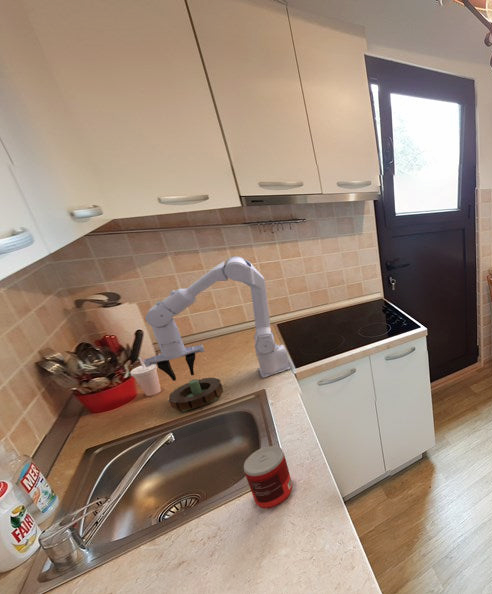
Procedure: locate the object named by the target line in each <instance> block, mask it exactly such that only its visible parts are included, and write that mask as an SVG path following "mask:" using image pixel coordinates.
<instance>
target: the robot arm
mask: <svg viewBox="0 0 492 594" xmlns="http://www.w3.org/2000/svg"><path fill="white" fill-rule="evenodd" d="M228 280H232V281H235V282H240V283H243V284H244V285H246V286H248V287H250V295H251V303H252V310H253V318H254V324H255V333H254V337H253V339H254V349H255V356H256V359H257V362H258V365H259V367H258V371H259V373H260V374H259V375H260V376H261V378H267V377H270V376H273V375H276V374H279V373H282V372H284V371H288V370H290V369H291V365H290V360H289V356H288V353H287V350H286V346H285V345H284V344H277V343H276V341H275V334H274V332H273V331H272V330H271V329H272V328H271V321H270V311H269V305H268V295H267V288H266V280H265V277H264V276H263V274H261V272H260V271H259V270H258V269H256V268H255V266H254V265H253V264H252V263H251V262H250V261H249V260H247V259H245V258H243V257H242V256H236V255H235V256H231V257H229V258H227V259H226V261H221V262H220V263H219V264H217V265H216V266H214V267H213V268H211V269H210V270H208V271H207V272H206V273H205V274H204V275H202V276H201V277H200V278H198V279H197V280H196V281H195V282H193V283H192V284H191V285H189V287H187V288H178V289H177V290H175V289H173V290H171V291H170V292H169V295H168V296H166V297H165V298H164V299H163V300H161V301H160V300H158V301H157V302H156V303H155V305H153V306H151V307H150V308H149V310H148V311H147V313H146V314H145V317H144V319H145V322H146V323H147V325H149V326H150V327H151V329H152V333H153V336H154V338H155V340H156V343H157V345H158V347H159V350H160V352H161V353H159V354H157V355H154V356H151V357H148V358H144V360H143V363H144V365H145V366H146V367H148V366H151V365H153V364H156V366H157V369H159V370H161V371H162V372H164V373H166V375H168V377H170V379H171V380H172V381H173V382H175V381H177V377H176V374H175V372H174V370H173V368H172V365H171V362H170V361H171V360H175V359H179V358H182V357H183V358H184V357H185V358H184V359H185V362H186V364H187V367H188V368H189V373H190V375H191V376H194V375H195V373H194V372H195V371H194V366H195V360H196V354H197V353H204V352H205V348H204V345H203V344H199V345H194V346H187V347H186V346H185V344H184V340H183V338H182V335H181V333H180V330H179V327H178V325H177V323H176V321H175V318H174V317H176V316H178V315H180V314H181V313H182V312H184V311H185V310H186V309H187V308H189V307H190V306H192V305H193V304H194V303H196V301H197V298H196V297H197V296H198V295H200V294H201V293H202V292H204V291H205V290H207V289H208V288H210V287H211V286H212V285H214V284H215V283H217V282H227V281H228Z"/></svg>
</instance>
